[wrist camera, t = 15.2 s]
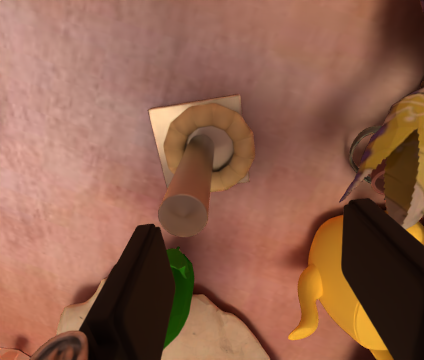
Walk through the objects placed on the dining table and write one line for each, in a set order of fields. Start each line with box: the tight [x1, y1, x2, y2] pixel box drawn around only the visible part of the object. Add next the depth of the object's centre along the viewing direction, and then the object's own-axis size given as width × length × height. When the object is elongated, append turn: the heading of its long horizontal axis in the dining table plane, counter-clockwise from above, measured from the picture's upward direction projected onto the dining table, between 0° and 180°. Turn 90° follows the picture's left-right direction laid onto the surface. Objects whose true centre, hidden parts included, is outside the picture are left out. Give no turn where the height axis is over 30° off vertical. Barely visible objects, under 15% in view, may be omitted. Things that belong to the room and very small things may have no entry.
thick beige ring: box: [163, 103, 255, 192], centre depth 22 cm, size 8×8×2 cm
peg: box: [148, 94, 249, 237], centre depth 18 cm, size 8×8×13 cm
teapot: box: [288, 211, 424, 360], centre depth 24 cm, size 14×13×10 cm
